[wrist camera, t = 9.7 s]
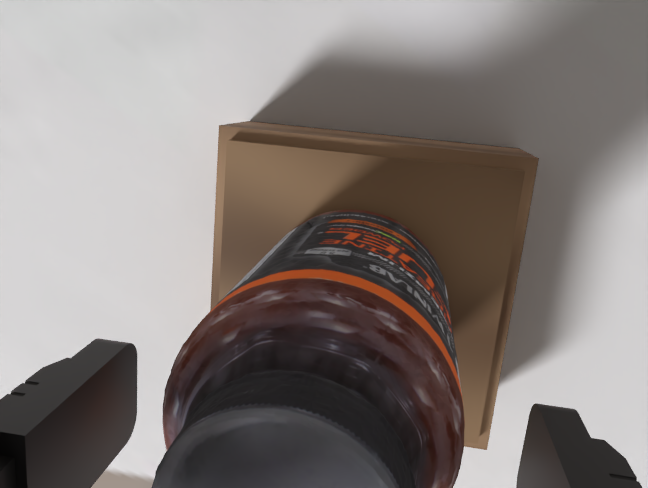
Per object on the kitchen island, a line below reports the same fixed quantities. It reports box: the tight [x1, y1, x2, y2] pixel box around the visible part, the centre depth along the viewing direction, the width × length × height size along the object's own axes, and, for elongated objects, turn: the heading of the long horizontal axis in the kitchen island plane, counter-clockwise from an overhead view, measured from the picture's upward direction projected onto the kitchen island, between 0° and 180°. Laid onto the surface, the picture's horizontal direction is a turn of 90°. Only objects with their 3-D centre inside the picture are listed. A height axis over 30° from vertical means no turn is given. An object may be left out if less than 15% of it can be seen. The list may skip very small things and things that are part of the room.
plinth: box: [211, 121, 539, 450], centre depth 22 cm, size 10×10×4 cm
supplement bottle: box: [152, 210, 465, 488], centre depth 14 cm, size 6×6×11 cm
